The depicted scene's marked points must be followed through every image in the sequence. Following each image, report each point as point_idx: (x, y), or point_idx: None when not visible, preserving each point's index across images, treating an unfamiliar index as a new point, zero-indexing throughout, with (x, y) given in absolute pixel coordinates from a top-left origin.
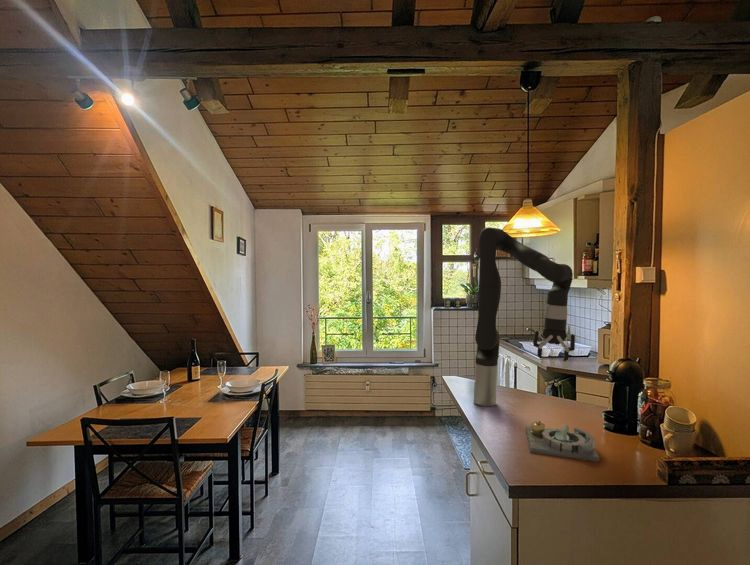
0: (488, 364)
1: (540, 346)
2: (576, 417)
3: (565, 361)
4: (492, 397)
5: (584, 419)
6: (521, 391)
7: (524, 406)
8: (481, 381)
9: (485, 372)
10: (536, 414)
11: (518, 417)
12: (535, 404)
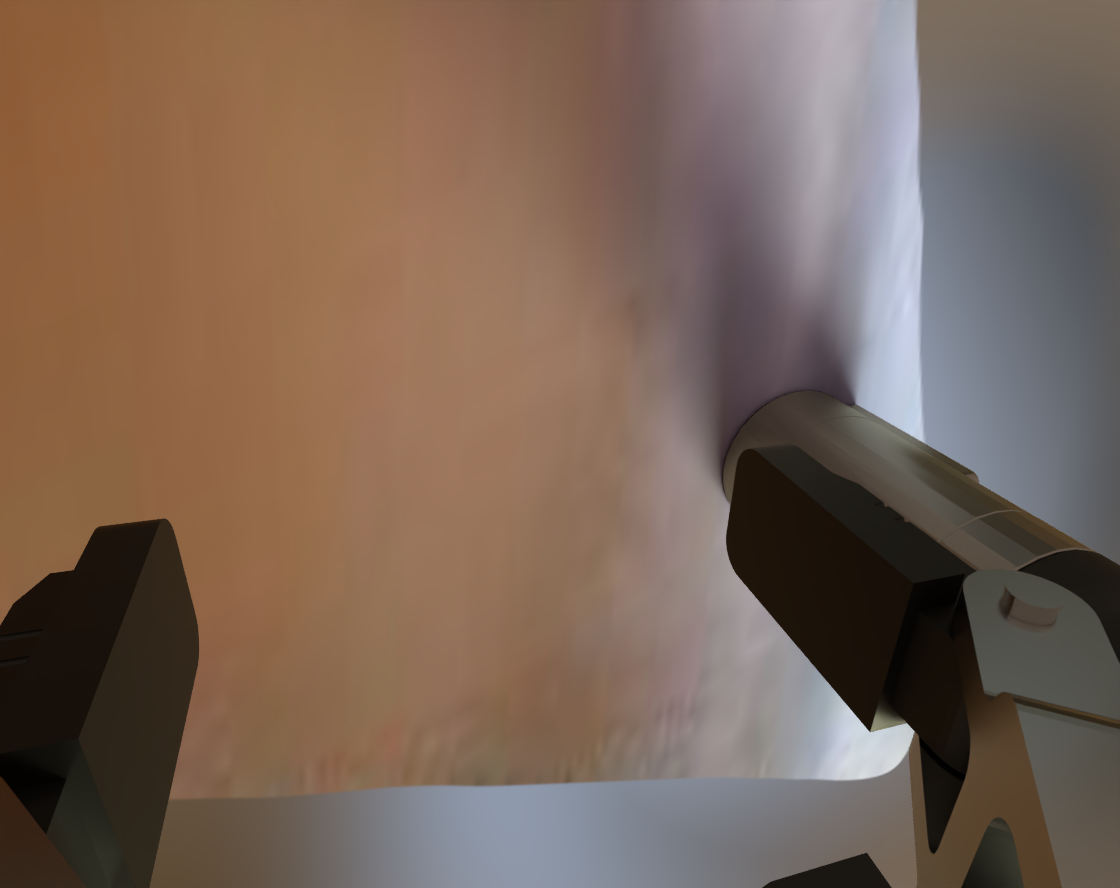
0: (1058, 568)
1: (1046, 621)
2: (136, 485)
3: (122, 532)
4: (788, 442)
5: (62, 471)
6: (543, 777)
7: (537, 524)
8: (955, 471)
9: (1004, 514)
10: (457, 402)
11: (592, 274)
12: (460, 600)
